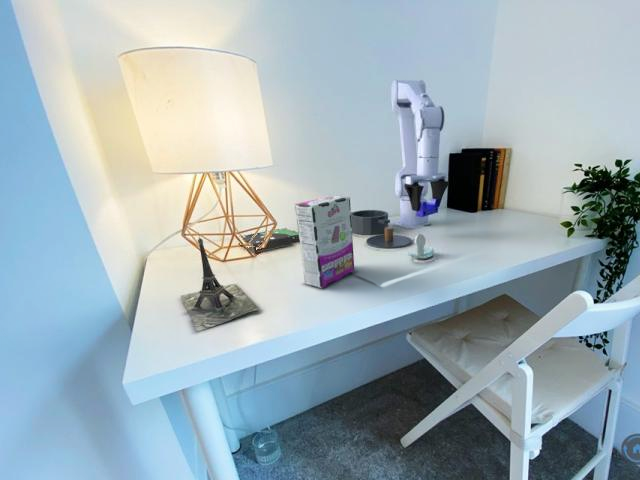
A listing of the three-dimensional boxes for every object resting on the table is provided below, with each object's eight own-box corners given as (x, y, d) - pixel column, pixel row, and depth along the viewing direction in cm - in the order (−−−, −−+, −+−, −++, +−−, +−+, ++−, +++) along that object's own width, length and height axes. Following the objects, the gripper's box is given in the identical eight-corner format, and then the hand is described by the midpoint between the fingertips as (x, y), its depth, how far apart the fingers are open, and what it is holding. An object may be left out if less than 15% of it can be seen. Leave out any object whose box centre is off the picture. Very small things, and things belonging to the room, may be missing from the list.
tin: (367, 224, 117) (367, 207, 114) (401, 234, 105) (401, 215, 102) (339, 230, 110) (338, 212, 108) (371, 241, 98) (371, 220, 96)
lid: (391, 235, 103) (391, 220, 101) (420, 244, 94) (421, 228, 93) (357, 243, 96) (356, 227, 94) (386, 253, 87) (386, 236, 85)
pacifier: (442, 260, 82) (424, 254, 86) (444, 235, 80) (426, 230, 84) (420, 267, 78) (403, 260, 82) (422, 241, 75) (403, 235, 80)
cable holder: (427, 210, 101) (428, 197, 99) (437, 212, 99) (438, 198, 97) (412, 215, 95) (412, 201, 94) (422, 217, 93) (422, 202, 92)
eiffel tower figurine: (261, 312, 58) (248, 236, 53) (197, 331, 52) (174, 248, 47) (235, 285, 69) (221, 220, 64) (178, 299, 63) (159, 228, 58)
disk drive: (254, 254, 88) (304, 242, 97) (252, 244, 87) (302, 232, 96) (238, 246, 95) (285, 235, 104) (236, 236, 94) (284, 226, 103)
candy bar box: (337, 268, 78) (332, 194, 71) (355, 272, 75) (351, 196, 69) (302, 284, 69) (293, 202, 62) (321, 289, 67) (313, 205, 60)
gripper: (419, 159, 84) (418, 214, 89) (457, 156, 92) (453, 207, 98) (400, 158, 89) (399, 210, 94) (437, 155, 97) (435, 203, 103)
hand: (425, 208), depth 96 cm, fingers closed on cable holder, 7 cm apart
